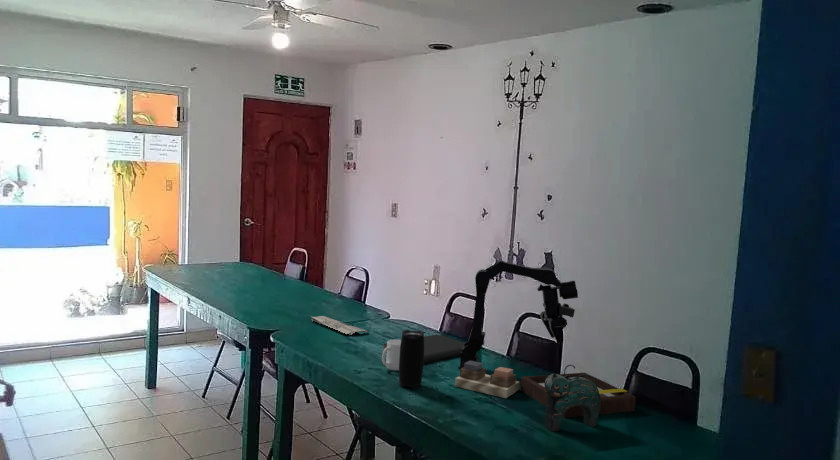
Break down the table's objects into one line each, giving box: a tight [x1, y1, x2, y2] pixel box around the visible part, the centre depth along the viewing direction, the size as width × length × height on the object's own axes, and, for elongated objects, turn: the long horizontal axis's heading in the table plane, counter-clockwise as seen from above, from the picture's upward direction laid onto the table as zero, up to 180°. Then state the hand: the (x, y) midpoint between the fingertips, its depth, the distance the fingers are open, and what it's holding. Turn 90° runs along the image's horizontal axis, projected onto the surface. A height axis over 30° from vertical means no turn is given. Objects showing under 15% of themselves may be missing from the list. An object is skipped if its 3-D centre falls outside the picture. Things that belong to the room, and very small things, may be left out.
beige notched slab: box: [309, 315, 369, 336], centre depth 313 cm, size 35×12×4 cm, turn 42°
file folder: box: [382, 334, 466, 365], centre depth 279 cm, size 33×4×24 cm
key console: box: [454, 367, 520, 399], centre depth 234 cm, size 20×12×6 cm, turn 60°
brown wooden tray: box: [519, 372, 636, 419], centre depth 226 cm, size 28×7×30 cm
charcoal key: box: [464, 361, 483, 372], centre depth 237 cm, size 5×5×3 cm
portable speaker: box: [398, 329, 425, 390], centre depth 231 cm, size 9×9×20 cm
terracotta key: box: [493, 366, 514, 379], centre depth 231 cm, size 5×5×3 cm
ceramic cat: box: [544, 364, 601, 433], centre depth 200 cm, size 20×6×20 cm, turn 114°
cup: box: [381, 339, 401, 372], centre depth 251 cm, size 8×12×10 cm
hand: (555, 340), depth 253 cm, fingers open, 9 cm apart
